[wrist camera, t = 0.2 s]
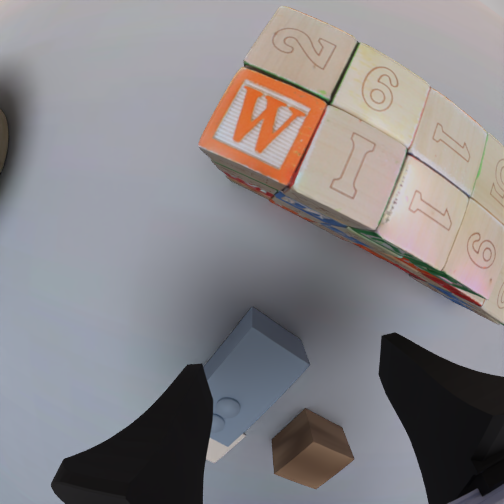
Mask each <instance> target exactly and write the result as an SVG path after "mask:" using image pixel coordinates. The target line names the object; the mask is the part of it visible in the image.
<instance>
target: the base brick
mask: <svg viewBox="0 0 504 504" xmlns="http://www.w3.org/2000/svg"><path fill="white" fill-rule="evenodd" d="M309 366H310V363H309V361H308V358H307V355H306V352H305V349H304V347H303V344H302V341H301V340H300V339H299V338H297V337H296V336H294V335H293V334H291V333H290V332H288V331H287V330H286V329H284V328H283V327H281V326H280V325H278V324H277V323H275V322H274V321H272V320H271V319H270V318H268V317H267V316H265V315H264V314H262V313H261V312H260V311H258V310H257V309H255V308H254V307H251V309H250V310H249V311H248V312H247V314H246V315H245V316H244V318H243V319H242V320H241V321H240V323H239V324H238V325H237V326H236V328H235V329H234V330H233V331H232V333H231V334H230V335H229V336H228V338H227V339H226V340H225V341H224V343H223V344H222V345H221V346H220V347H219V349H218V350H217V351H216V352H215V354H214V355H213V356H212V357H211V359H210V360H209V361H208V362H207V363H206V365H205V366H204V367H203V368H204V372H205V375H206V378H207V382H208V385H209V388H210V391H211V394H212V397H213V422H212V428H211V433H210V438H211V439H213V440H215V441H217V442H219V443H221V444H223V445H225V446H227V447H229V446H230V445H231V444H232V443H233V442H234V441H235V440H236V439H237V438H239V437H240V436H241V435H242V434H243V433H244V432H245V431H246V430H247V429H248V428H249V427H250V426H251V425H252V424H253V423H255V422H256V421H257V420H258V419H259V418H260V417H261V416H262V415H263V414H264V413H265V412H266V411H267V410H268V409H269V408H270V407H271V406H272V405H273V404H274V403H275V402H276V401H277V400H278V399H279V398H280V397H281V396H282V395H283V394H284V393H285V391H286V390H287V389H288V388H289V387H290V386H291V385H292V384H293V383H294V382H295V381H296V380H297V379H298V378H299V377H300V376H301V374H302V373H303V372H304V371H305V370H306V369H307V368H308V367H309Z"/></svg>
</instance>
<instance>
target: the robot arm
mask: <svg viewBox="0 0 504 504" xmlns="http://www.w3.org/2000/svg"><path fill="white" fill-rule="evenodd" d="M379 377H380V379H381V382H382V385H383V388H384V390H385V393H386V395H387V397H388V399H389V400H390V402H391V404H392V406H393V408H394V410H395V411H396V413H397V415H398V417H399V419H400V421H401V422H402V424H403V426H404V428H405V430H406V432H407V434H408V436H409V438H410V441H411V443H412V446H413V449H414V452H415V454H416V457H417V460H418V464H419V467H420V470H421V473H422V477H423V481H424V485H425V489H426V493H427V498H428V503H429V504H504V377H501V376H495V375H490V374H486V373H482V372H478V371H475V370H471V369H469V368H466V367H463V366H460V365H457V364H455V363H453V362H450V361H448V360H446V359H444V358H442V357H439V356H437V355H436V354H434V353H432V352H430V351H428V350H426V349H424V348H422V347H421V346H419V345H417V344H415V343H414V342H412V341H410V340H408V339H407V338H405V337H403V336H401V335H399V334H397V333H391V334H387V335H383V336H382V339H381V353H380V365H379ZM212 422H213V397H212V394H211V391H210V388H209V385H208V382H207V378H206V375H205V372H204V368H203V365H202V364H190V365H187V366H186V367H185V368H184V369H183V371H182V372H181V373H180V374H179V375H178V377H177V378H176V379H175V380H174V381H173V383H172V384H171V385H170V386H169V387H168V389H167V390H166V391H165V392H164V393H163V394H162V395H161V397H160V398H159V399H158V400H157V401H156V402H155V403H154V404H153V405H152V406H151V407H150V408H149V409H148V410H147V411H146V412H145V413H143V414H142V415H141V416H140V417H139V418H138V419H136V420H135V421H134V422H133V423H131V424H130V425H129V426H128V427H126V428H125V429H123V430H122V431H120V432H119V433H117V434H116V435H114V436H113V437H111V438H110V439H108V440H106V441H104V442H102V443H101V444H99V445H97V446H95V447H93V448H91V449H88V450H86V451H84V452H81V453H79V454H76V455H73V456H71V457H68V458H65V459H64V460H63V461H62V463H61V465H60V467H59V469H58V471H57V473H56V475H55V477H54V479H53V481H52V483H51V487H52V489H53V491H54V493H55V494H56V495H57V496H58V497H59V498H60V499H61V500H62V501H63V502H64V503H65V504H203V478H204V467H205V461H206V455H207V450H208V444H209V439H210V433H211V428H212Z"/></svg>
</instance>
